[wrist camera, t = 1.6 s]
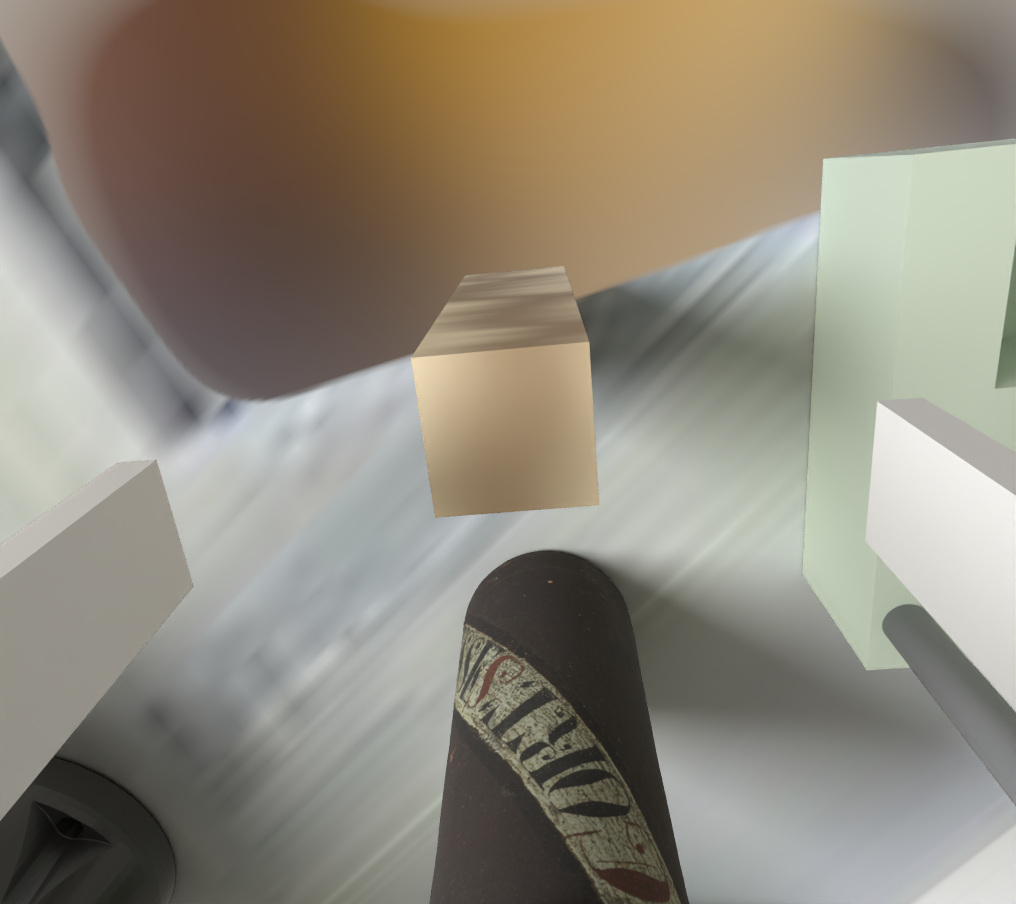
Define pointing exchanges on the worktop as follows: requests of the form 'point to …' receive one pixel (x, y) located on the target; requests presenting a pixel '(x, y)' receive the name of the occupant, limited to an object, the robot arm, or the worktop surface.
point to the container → (552, 749)
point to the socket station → (909, 387)
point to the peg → (508, 397)
